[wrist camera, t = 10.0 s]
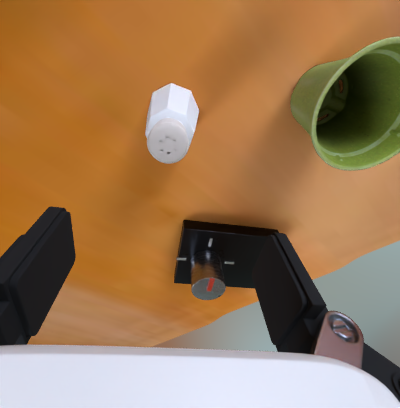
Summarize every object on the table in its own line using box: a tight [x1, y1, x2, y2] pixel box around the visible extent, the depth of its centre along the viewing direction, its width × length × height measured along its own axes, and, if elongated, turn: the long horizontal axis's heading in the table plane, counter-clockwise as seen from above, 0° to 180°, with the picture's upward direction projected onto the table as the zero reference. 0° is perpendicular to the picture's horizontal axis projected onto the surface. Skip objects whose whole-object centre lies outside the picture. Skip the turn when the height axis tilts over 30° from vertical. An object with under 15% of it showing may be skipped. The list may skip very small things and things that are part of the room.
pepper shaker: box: [145, 83, 199, 163], centre depth 20 cm, size 5×5×11 cm
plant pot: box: [290, 37, 400, 170], centre depth 21 cm, size 9×9×9 cm
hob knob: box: [191, 250, 226, 300], centre depth 32 cm, size 4×4×5 cm
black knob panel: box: [174, 220, 279, 288], centre depth 35 cm, size 14×11×2 cm
